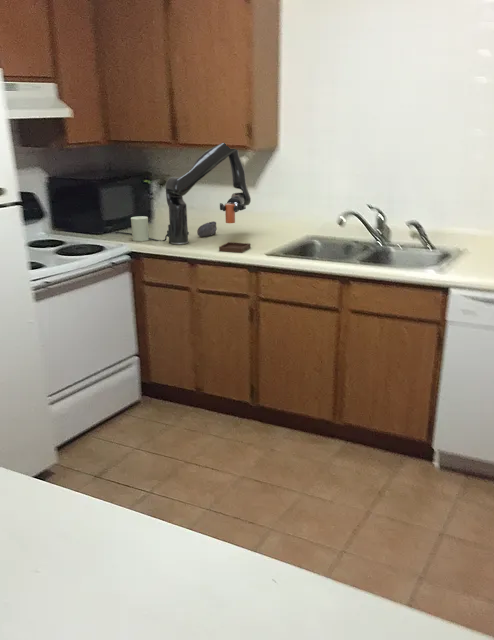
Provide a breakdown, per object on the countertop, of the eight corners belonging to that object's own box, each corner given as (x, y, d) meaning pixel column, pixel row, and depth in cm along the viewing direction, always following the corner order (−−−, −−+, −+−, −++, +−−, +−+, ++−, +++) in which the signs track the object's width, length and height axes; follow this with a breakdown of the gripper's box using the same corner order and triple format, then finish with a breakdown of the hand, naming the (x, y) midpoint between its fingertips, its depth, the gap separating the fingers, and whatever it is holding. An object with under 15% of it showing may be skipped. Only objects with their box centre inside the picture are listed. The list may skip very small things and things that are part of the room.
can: (134, 241, 354) (132, 218, 349) (130, 238, 362) (129, 216, 357) (151, 240, 356) (149, 217, 352) (147, 237, 364) (146, 214, 360)
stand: (219, 251, 330) (219, 246, 329) (228, 246, 340) (228, 242, 339) (241, 253, 326) (241, 248, 325) (250, 247, 336) (250, 243, 335)
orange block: (224, 223, 336) (223, 204, 332) (227, 221, 340) (227, 203, 336) (233, 223, 334) (232, 205, 330) (236, 221, 338) (236, 203, 334)
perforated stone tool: (201, 238, 359) (200, 225, 356) (194, 237, 362) (193, 224, 359) (219, 234, 369) (219, 221, 367) (212, 233, 373) (212, 220, 370)
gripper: (221, 196, 347) (214, 201, 331) (248, 196, 344) (243, 201, 329) (221, 210, 350) (215, 216, 334) (248, 211, 347) (243, 217, 332)
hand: (229, 209), depth 332 cm, fingers closed on orange block, 5 cm apart
